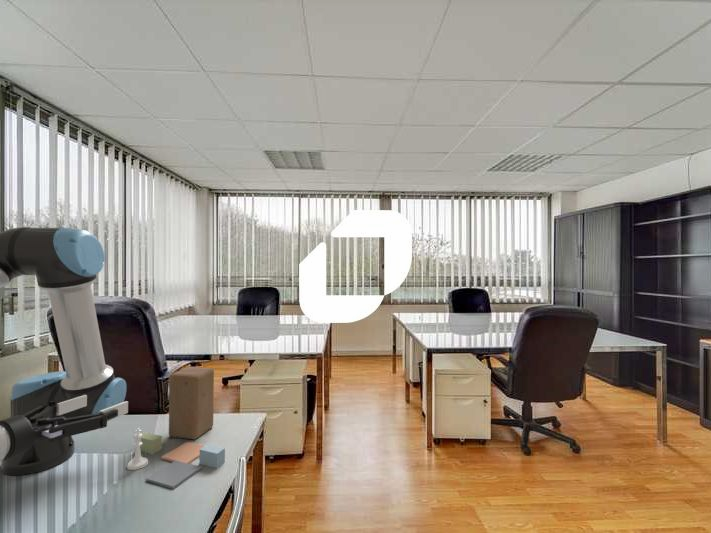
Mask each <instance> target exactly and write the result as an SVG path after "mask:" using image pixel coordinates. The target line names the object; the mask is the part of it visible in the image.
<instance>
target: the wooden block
mask: <svg viewBox="0 0 711 533" xmlns="http://www.w3.org/2000/svg"><path fill="white" fill-rule="evenodd" d="M168 381H169V388H168V394H169V396H168V436H169V437H171V438H178V439H179V438H180V439H187V440H188V439H189V440H197V439H198V438H200V437H201V436H202V435H204V434H205V433H207V432H208V431H210V429H212V428H213V426H214V410H215V409H214V400H215V397H214V396H215V390H214V389H215V382H214V381H215V370H214V368H211V367H201V366H187V367H185V368H183V369H180V370H178V371H175V372H173V373H170V375H169V380H168Z"/></svg>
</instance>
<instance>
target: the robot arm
mask: <svg viewBox="0 0 711 533" xmlns="http://www.w3.org/2000/svg"><path fill="white" fill-rule="evenodd" d="M105 258H106V257H105V252H104V248H103V246H102V243H101V241H100V240H99V238H98V237H96V235H94V234H93V233H91V232H90V231H89V230H86V229H82V228H81V229H79V228H72V227H29V226H25V227H23V226H21V227H14V228H9V229H6V230H3V231H1V232H0V289H2V288H4V287H6V286H7V285H8V284H9V283H10V282H11V281H12V280H13V279H16V278H18V277H21V276H35V277H36V278H35V279H36V282H37V286H38V288H40V289H42V290H44V291H46V292H47V293H48V298H49V303H50V306H51V311H52V316H53V321H54V325H55V329H56V330H55V331H56V334H57V339H58V343H59V349H60V354H61V357H62V361H63V366H64V370H65V371H64V370H60V371H53V372H52V371H51V372H46V373H42V374H38V375H34V376H30V377H27V378H24V379H21V380H19V381H17V382H16V383H15V384H14V385H12V388H11V395H10V399H9V400H10V401H9V402H10V417H7V418H3V419H2V420H0V472H1V473H2V474H4V475H7V476H23V475H24V476H25V475H30V474H34V473H39V472H43V471H45V470H48V469H51V468H53V467H56V466H58V465H60V464H62V463H64V462H66V461H67V460H68V459H70V458H71V457H72V456H73V455H74V454H75V447H76V446H75V441H74V439H73V437H72V436H76V435H80V434H83V433H88V432H91V431H96V430H101V429H104V428H106V427H108V422H109V421H112V420H114V419H116V418H119V417H121V416H124V415H126V414H128V413H129V401H127V400H126V401H125V399H126V395H127V382H126V380H125V379H124V378H122V377H115V373H114V372H115V371H114V368H113V367H112V366H110V365H109V364H106V361H105V355H104V349H103V345H102V338H101V332H100V328H99V322H98V318H97V317H98V316H97V312H96V305H95V300H94V296H93V290H92V285H93V283H95V281H97V275H98V274H99V273H100V272H101V271H102V270H103V269H104V268H103V267H104V262H105Z"/></svg>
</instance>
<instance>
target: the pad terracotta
mask: <svg viewBox="0 0 711 533" xmlns="http://www.w3.org/2000/svg"><path fill="white" fill-rule="evenodd" d="M204 446H205V445H203V444H197V443H194V442H188V441H186V442H184V443H183V444H181V445H179V446H177V447H175V448H174V449H173V450H170V451H169V452H167V453H165V454H163V455H162V456H161V459H162V460H164V461H168V462H171V463H172V462H173V461H175V460H176V461H180V462H184V463H188V464H191V463H193V462H194V461H196V460H197V459H199V456H200V449H201V448H203V447H204Z"/></svg>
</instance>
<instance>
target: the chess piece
mask: <svg viewBox="0 0 711 533" xmlns="http://www.w3.org/2000/svg"><path fill="white" fill-rule="evenodd" d="M142 432H143V429H140V427H137V428H136V430H134V435H133V439H134V441H135V442H134V443H133V447H134V448H135V453H134V457H133V459H131V460H130V461H129V462H127V466H126V469H127V470H130V471H136V470H140V469H143V468H144V467H146V466H147V465H148V464H149V459H148V458H147V457H143V456H142V451H140V446H141V445H142V444H143V443H142V442H140V441H141V438H142V434H143V433H142Z"/></svg>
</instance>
